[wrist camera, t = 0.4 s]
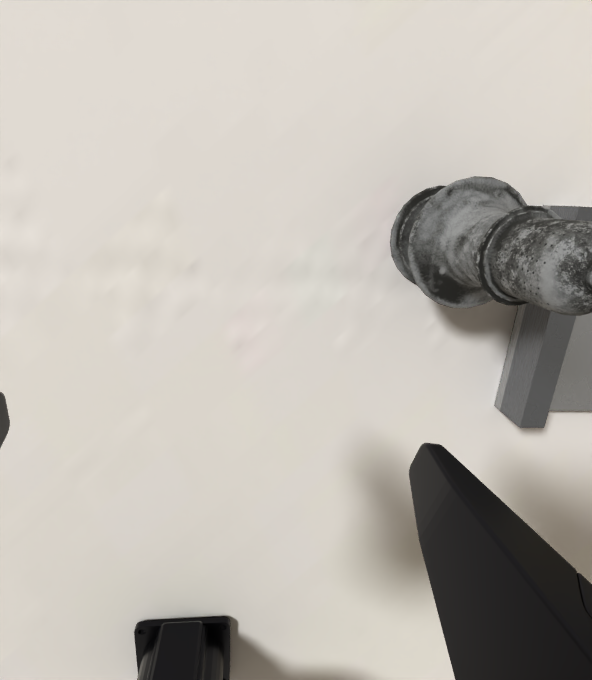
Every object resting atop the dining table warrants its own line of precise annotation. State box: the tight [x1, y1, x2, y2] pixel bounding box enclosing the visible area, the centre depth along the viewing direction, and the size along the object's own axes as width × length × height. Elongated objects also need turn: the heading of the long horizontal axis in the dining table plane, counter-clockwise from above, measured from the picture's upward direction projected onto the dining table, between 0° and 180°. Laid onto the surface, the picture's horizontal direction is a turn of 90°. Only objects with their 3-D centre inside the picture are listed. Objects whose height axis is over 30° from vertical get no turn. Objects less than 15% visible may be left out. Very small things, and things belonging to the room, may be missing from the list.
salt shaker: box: [390, 176, 592, 316], centre depth 16 cm, size 6×6×12 cm
